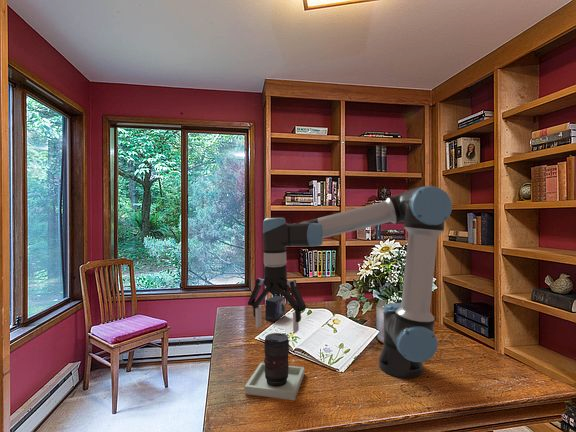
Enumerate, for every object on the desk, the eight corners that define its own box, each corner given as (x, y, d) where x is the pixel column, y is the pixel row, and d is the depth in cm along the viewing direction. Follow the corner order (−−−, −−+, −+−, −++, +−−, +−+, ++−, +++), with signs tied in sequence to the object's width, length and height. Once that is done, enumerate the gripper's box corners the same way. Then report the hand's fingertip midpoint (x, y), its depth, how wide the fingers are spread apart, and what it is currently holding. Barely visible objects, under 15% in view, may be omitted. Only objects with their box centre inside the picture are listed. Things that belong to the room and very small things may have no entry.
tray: (304, 374, 114) (304, 367, 114) (294, 400, 98) (294, 392, 98) (260, 369, 118) (260, 362, 118) (244, 393, 102) (244, 386, 102)
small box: (275, 322, 166) (275, 301, 166) (264, 319, 170) (264, 299, 169) (286, 316, 175) (285, 296, 175) (275, 314, 179) (275, 295, 178)
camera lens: (286, 389, 103) (286, 342, 103) (261, 387, 105) (261, 341, 104) (291, 376, 111) (290, 333, 111) (268, 374, 113) (267, 331, 112)
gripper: (315, 264, 106) (316, 329, 106) (248, 261, 115) (249, 320, 116) (307, 268, 99) (308, 338, 99) (236, 265, 109) (238, 328, 109)
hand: (276, 329), depth 108 cm, fingers open, 13 cm apart
